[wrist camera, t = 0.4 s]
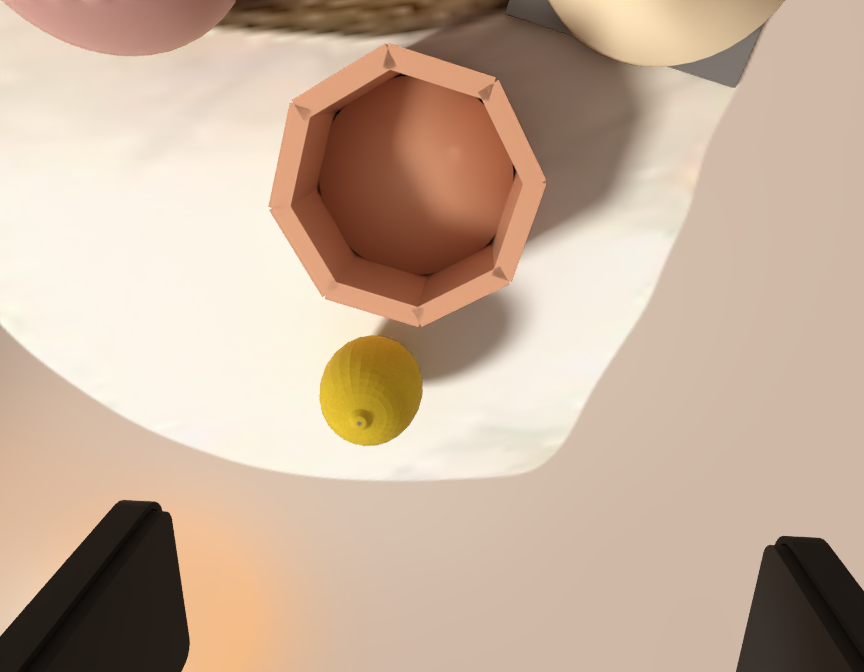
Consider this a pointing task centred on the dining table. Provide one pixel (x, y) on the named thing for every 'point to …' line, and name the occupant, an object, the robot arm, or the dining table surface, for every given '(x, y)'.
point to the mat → (719, 68)
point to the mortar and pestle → (124, 22)
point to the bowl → (406, 185)
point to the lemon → (370, 390)
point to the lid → (662, 27)
